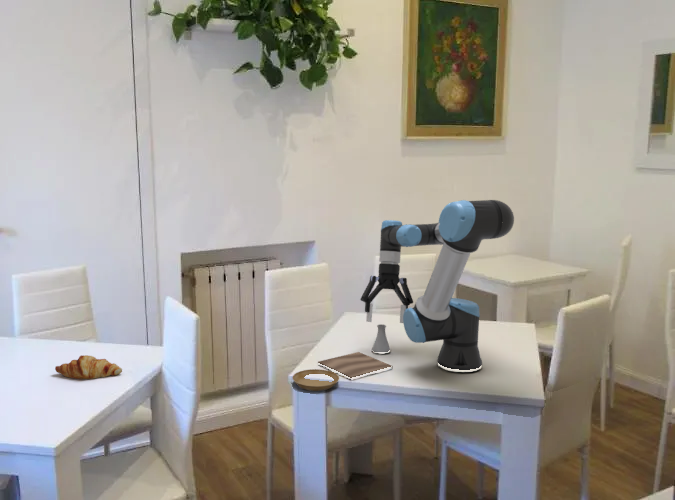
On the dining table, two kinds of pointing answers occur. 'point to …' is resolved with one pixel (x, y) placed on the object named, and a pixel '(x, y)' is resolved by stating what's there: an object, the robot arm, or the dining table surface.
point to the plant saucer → (314, 384)
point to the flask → (381, 340)
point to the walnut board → (354, 364)
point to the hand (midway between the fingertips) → (385, 322)
